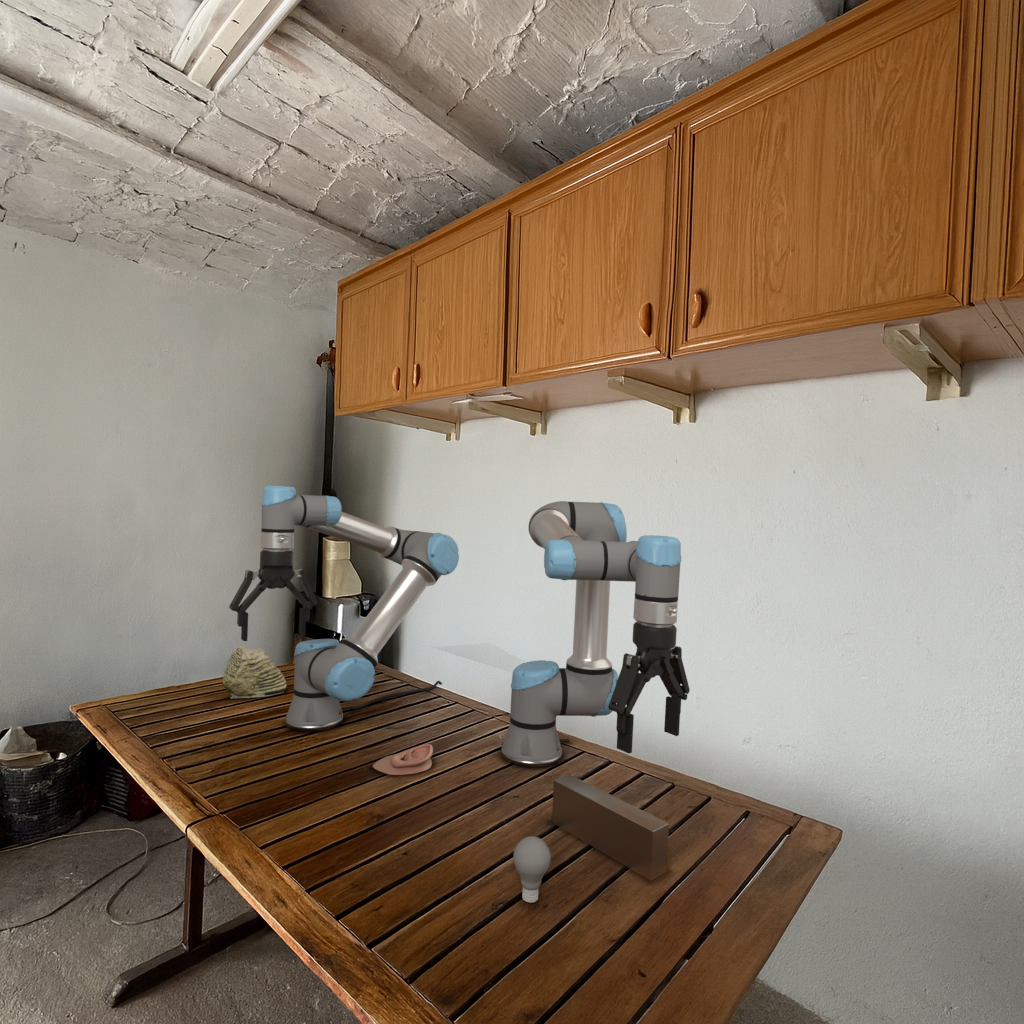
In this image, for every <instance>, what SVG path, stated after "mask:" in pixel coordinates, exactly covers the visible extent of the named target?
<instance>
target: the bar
mask: <svg viewBox="0 0 1024 1024" xmlns="http://www.w3.org/2000/svg"><path fill="white" fill-rule="evenodd" d="M552 788H553V789H552V809H551V811H552V813H551V824H553V825H554V826H557V827H558V828H560V829H562V830H563V831H565V832H567V833H568V834H570V835H572V836H574V837H575V838H577V839H578V840H580V841H582V842H583V843H585V844H586V845H589V846H590V847H592V848H594V849H595V850H597V851H599V852H601V854H604V855H606V856H607V857H608V858H611V859H613V860H614V861H616V862H618V863H619V864H621V865H623V866H624V867H626V868H627V869H629V870H631V871H633V872H634V873H636V874H638V875H639V876H641V877H643V878H644V879H646V880H647V881H649V882H652V881H654V880H656V879H657V878H659V877H661V876H663V875H664V874H667V871H668V853H669V852H668V851H669V831H670V823H669V822H667V821H665V820H663V819H661V818H659V817H656V816H655V815H652V813H651V814H650V813H649V812H647V811H646V810H645V811H644V810H642V809H641V808H639V807H637V806H635V805H633V804H631V803H629V802H626V801H624V800H622V799H620V798H619V797H616V796H615V795H612V794H610V793H608V792H606V791H604V790H602V789H600V788H598V787H596V786H594V785H592V784H590V783H588V782H586V781H584V780H582V779H580V778H579V777H576V776H574V775H572V774H567V775H564V776H561V777H557V778H555V779H554V780H553V787H552Z"/></svg>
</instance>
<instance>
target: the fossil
mask: <svg viewBox="0 0 1024 1024" xmlns="http://www.w3.org/2000/svg"><path fill="white" fill-rule="evenodd" d="M222 676H223V677H222V685H223V687H224V688H225V690H226V691H228V693H229V698H230V699H250V698H264V697H271V696H275V695H281V694H284V693H285V691H286V689H287V687H288V686H287V680H286V678H285V676H284V674H283V673H282V672H281V669H279V668H278V667H277V665H276V663H275V662H274V660H273V659H272V658H271V657H270V656H269V655H268V654H267V653H266V652H265V650H264V649H263V648H260V647H258V648H251V647H247V646H246V647H245V646H238V647H237V648H236V649H235V650H233V651H232V653H231V656H230V657H229V659H228V660H227V663H226V666H225V668H224V671H223V675H222Z"/></svg>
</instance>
